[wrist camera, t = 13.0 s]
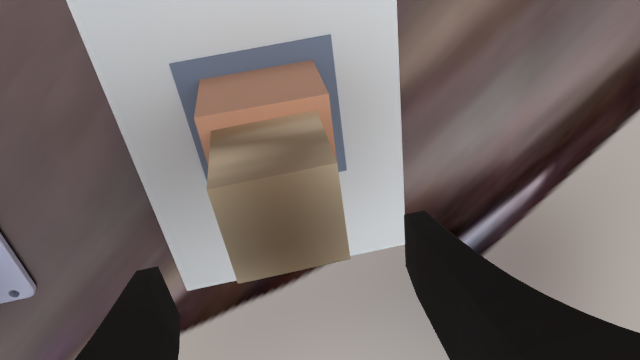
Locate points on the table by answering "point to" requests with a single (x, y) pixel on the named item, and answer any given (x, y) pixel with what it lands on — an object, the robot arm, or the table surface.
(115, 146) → the table surface
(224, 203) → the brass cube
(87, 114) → the table surface
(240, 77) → the terracotta block
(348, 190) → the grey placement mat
